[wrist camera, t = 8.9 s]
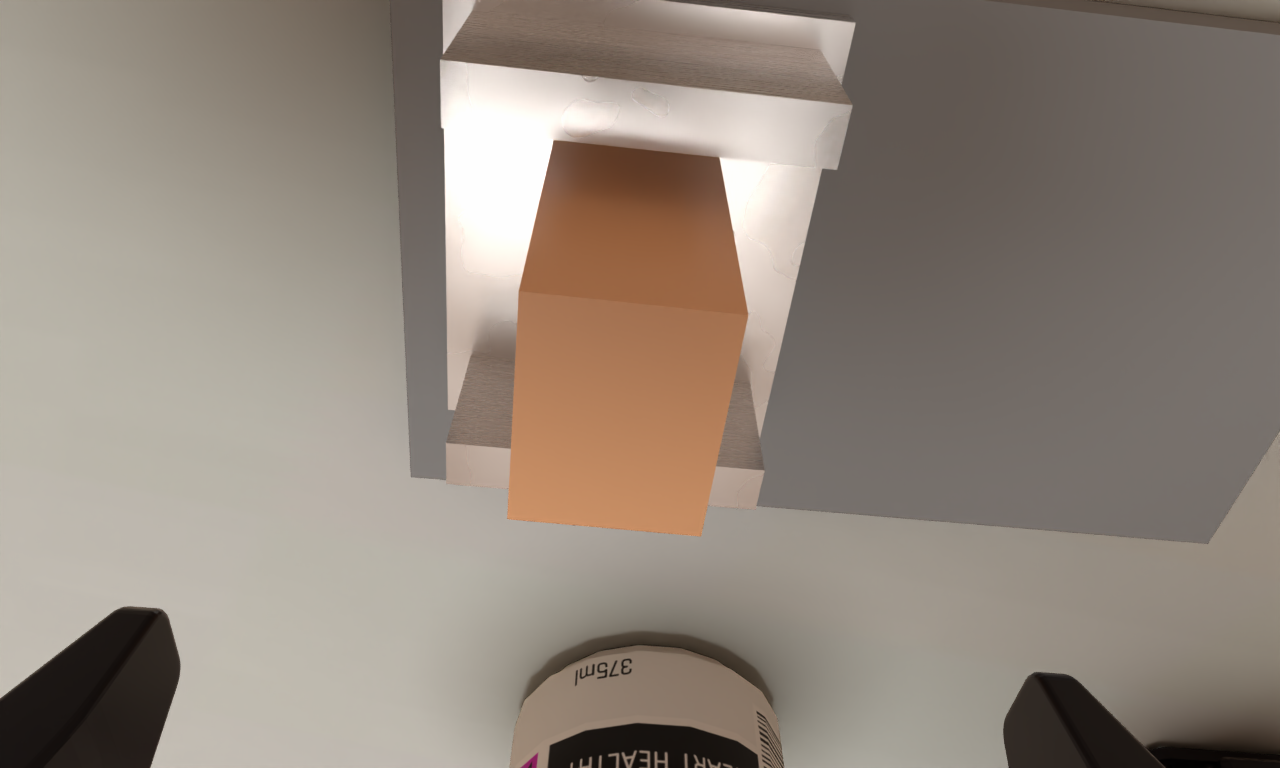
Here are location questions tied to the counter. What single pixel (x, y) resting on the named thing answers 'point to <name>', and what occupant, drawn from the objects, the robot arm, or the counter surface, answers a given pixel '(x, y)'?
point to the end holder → (641, 119)
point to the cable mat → (988, 268)
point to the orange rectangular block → (625, 341)
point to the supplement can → (646, 715)
